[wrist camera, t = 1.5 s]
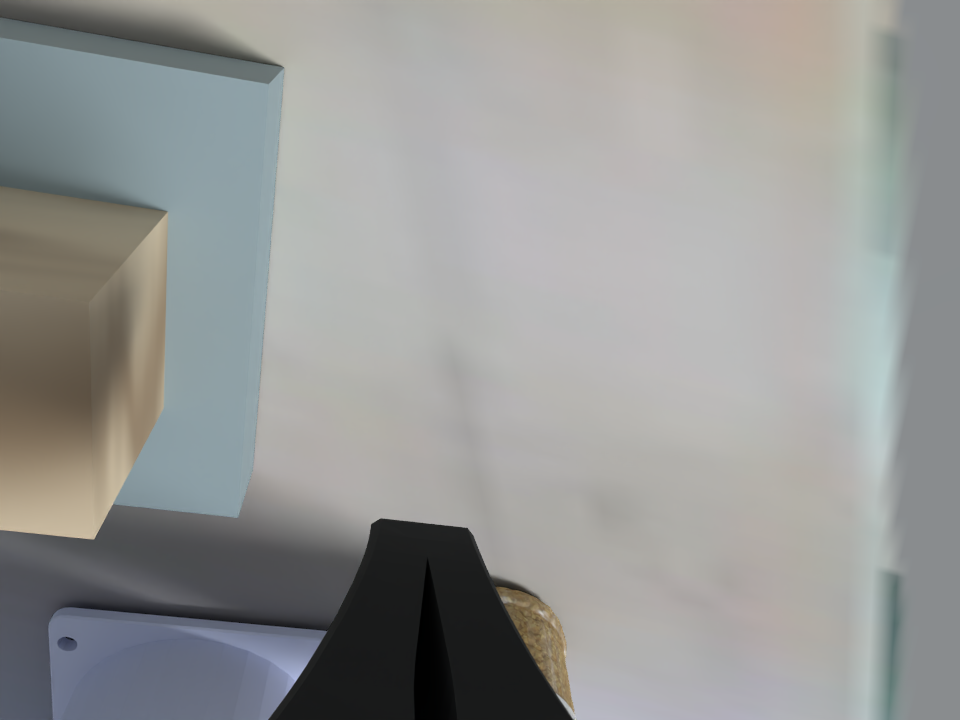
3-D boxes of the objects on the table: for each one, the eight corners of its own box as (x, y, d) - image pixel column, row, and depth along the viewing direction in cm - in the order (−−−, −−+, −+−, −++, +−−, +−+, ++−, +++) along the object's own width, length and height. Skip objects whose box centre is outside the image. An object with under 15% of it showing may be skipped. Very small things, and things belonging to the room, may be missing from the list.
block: (163, 408, 19) (94, 539, 15) (-55, 381, 18) (-189, 510, 14) (168, 211, 17) (88, 301, 13) (-78, 174, 16) (-239, 257, 12)
